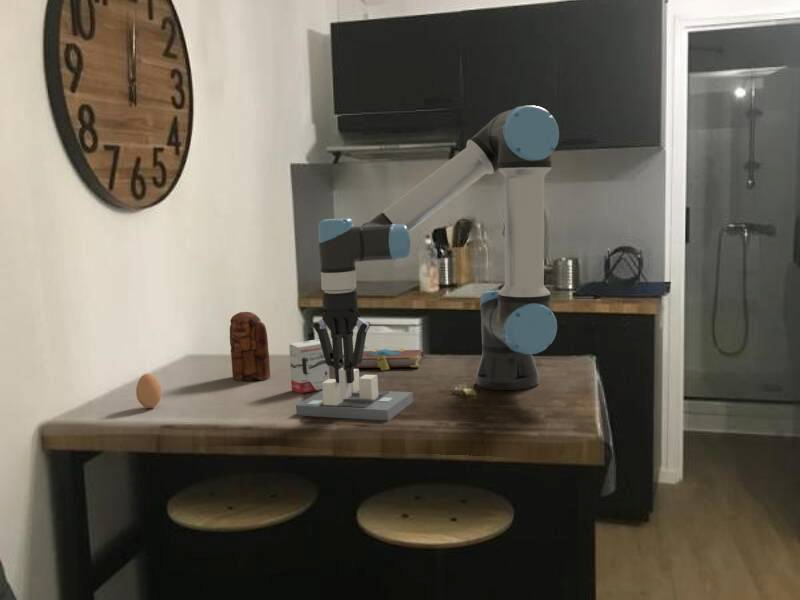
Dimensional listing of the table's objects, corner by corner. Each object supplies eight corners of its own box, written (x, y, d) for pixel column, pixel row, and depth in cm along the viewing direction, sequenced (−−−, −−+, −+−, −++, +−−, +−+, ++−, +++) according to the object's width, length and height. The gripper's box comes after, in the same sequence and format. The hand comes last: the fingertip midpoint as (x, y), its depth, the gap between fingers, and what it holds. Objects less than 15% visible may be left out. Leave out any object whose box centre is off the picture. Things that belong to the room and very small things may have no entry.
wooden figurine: (225, 381, 225) (219, 314, 223) (236, 375, 231) (231, 310, 229) (265, 381, 222) (259, 314, 219) (275, 376, 228) (270, 310, 225)
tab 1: (342, 401, 188) (341, 379, 187) (335, 405, 185) (334, 383, 184) (330, 400, 189) (329, 378, 189) (323, 404, 186) (322, 382, 185)
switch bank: (413, 402, 194) (412, 389, 193) (388, 420, 180) (387, 406, 180) (326, 397, 202) (325, 385, 201) (296, 415, 188) (295, 402, 188)
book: (340, 363, 245) (339, 346, 245) (425, 361, 242) (424, 344, 241) (327, 373, 229) (326, 355, 229) (418, 371, 225) (417, 353, 225)
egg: (142, 405, 204) (139, 371, 203) (166, 404, 204) (162, 370, 203) (134, 411, 199) (130, 377, 198) (158, 410, 199) (155, 376, 197)
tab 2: (360, 389, 197) (358, 369, 197) (353, 393, 194) (352, 372, 193) (348, 389, 199) (347, 368, 198) (341, 393, 195) (340, 372, 195)
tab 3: (378, 396, 190) (377, 375, 190) (372, 400, 187) (370, 378, 186) (366, 396, 191) (365, 374, 191) (359, 400, 188) (358, 378, 187)
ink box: (300, 394, 207) (297, 346, 205) (291, 390, 211) (288, 343, 209) (331, 387, 212) (327, 341, 210) (321, 384, 216) (318, 338, 214)
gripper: (374, 288, 183) (379, 394, 187) (320, 288, 188) (326, 391, 191) (359, 293, 176) (366, 403, 180) (304, 293, 181) (311, 400, 184)
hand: (346, 397), depth 186 cm, fingers closed
